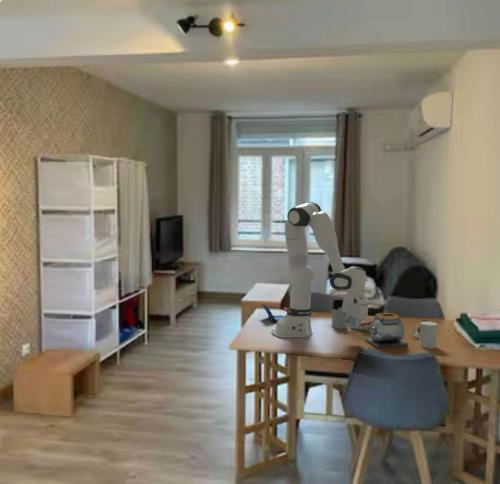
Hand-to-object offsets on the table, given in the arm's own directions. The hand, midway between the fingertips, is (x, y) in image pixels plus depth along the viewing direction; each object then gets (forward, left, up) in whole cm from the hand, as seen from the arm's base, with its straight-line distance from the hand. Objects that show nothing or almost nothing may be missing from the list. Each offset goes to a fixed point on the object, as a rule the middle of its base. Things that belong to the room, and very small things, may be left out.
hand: (353, 324), depth 284 cm
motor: (+16, -6, -10) cm, 20 cm away
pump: (0, 0, -2) cm, 2 cm away
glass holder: (+8, +35, -10) cm, 38 cm away
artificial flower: (+46, +4, -10) cm, 47 cm away
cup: (+34, -16, -10) cm, 39 cm away
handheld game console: (-22, +55, -10) cm, 60 cm away
